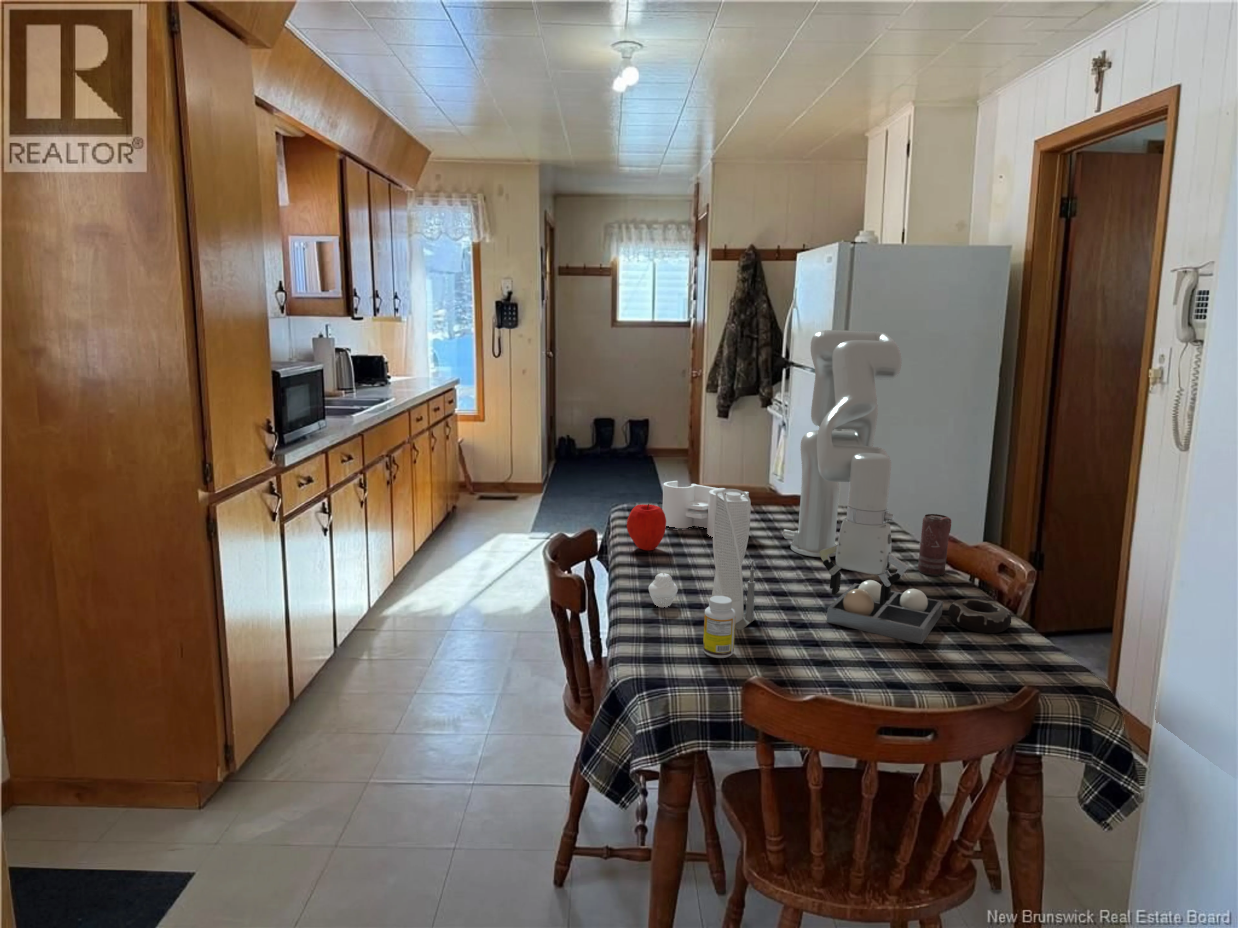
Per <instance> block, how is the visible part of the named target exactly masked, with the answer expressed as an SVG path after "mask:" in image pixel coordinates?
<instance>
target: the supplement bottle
mask: <svg viewBox="0 0 1238 928" xmlns="http://www.w3.org/2000/svg"><path fill="white" fill-rule="evenodd" d="M735 618H736V613H735V610H734V609H732V600H731V599H730V598H728V597H725V596H713V597H712V596H711V597H710V598H709V603H708V607H706V608H705V610H704V622H703V639H702V640H703V643H702V646H703V647H702V650H703V652H704V654H705V655H706V656H708V657H711V658H716V659H724V658H729V657H731V656H732V655H734V650H735V635H736V634H735V632H736V629H735Z"/></svg>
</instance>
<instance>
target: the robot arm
mask: <svg viewBox="0 0 1238 928" xmlns="http://www.w3.org/2000/svg"><path fill="white" fill-rule="evenodd" d="M810 356H811V360H812V363H813V367H814V374H815V375H814V382H813V383H814V385H813V390H812V391H813V392H812V401H811V406H810V407H811V409H810V410H811V411H810V417H811V418H810V419H811V422H812V424H813V425H815V427H818V429H816V430H811V431H808V432H806V433H805V434H804V435H803V436H802V438H801V441H800V459H801V485H800V486H801V487H800V502H799V517H798V528H797V530H795V531H793V530H789V529H787V528H786V529H783V531H782V537H784V539H786V540H791V541H792V542H791V544H790V549H791V550H792V551H793V552H794V553H797V554H800V555H803V556H806V557H807V556H808V557H815V558H821V560H822V562H823V563H822V564H823V566H824V567H825V568H826V570H827V571H828V574H829V575H830V581H829V583H830V584H829V589H831V595H834V596H835V595H836V594H838V593H839V592H840V590H841V579H842V573H841V571H840V570H841V569H843V570H849V571H852V572H857V573H863V574H868V575H874V576H878V577H879V579H880V580H881V582H882V584H881V593H880V605H884V604H885V603H886V602H887V601H889V600H890V594H891V591H892V585H893V584H895V583H896V582H897V581H899V580H900V579H901V578H902V576H904V574H905V573H906V571H907V570H908V565H907V564H906V563H904V562H903V561H902V560H900V559H899V558H897V557H896V556H894V555H893V554H892V529H891V524H890V523H889V521H892V522H894V519H895V514H894V513H890V512H889V508H888V505H889V494H890V493H889V492H890V481H891V471H892V461H891V457H890V456H889V455H888V453H887V451H886V450H885V449H884V448H882V447H880V446H879V447H878V446H873V445H874V440H875V435H876V428H877V422H878V414H879V413H878V412H879V408H878V406H879V405H878V399H877V397H878V396H877V390H876V380H882V381H883V380H886V381H890V380H895V379H896V378H897V377H898V375H899V374H900V371H901V369H902V353H901V350H900V347H899V345H898V344H897V342H896V341H895V340H894V339H893V338H891V336H890V335H888V334H887V333H885V332H882V331H872V330H871V331H870V330H869V331H868V330H863V331H862V330H843V329H840V330H838V329H836V330H835V329H829V330H827V329H826V330H820V331H817V332H815V333H814V334H813V335H812V338H811V340H810ZM845 430H846V431H845ZM847 430H849V431H847ZM839 483H849V486H848V495H847V496H848V497H847V507H846V508H847V509H846V517H845V518H843V520H842V523H841V526H840V530H839V533H838V537H837V535H836V533H837V522H838V511H839V500H840V499H839V498H840V485H839ZM836 537H837V538H838V539H837V543H836ZM831 557H835V563H834V562H833V560H832V559H831ZM891 566H894V567H895V568H896V569H897V571H895V573H894V574H893V575H892V574H891V573H890V571H889V570H890V568H891Z"/></svg>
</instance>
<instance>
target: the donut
mask: <svg viewBox="0 0 1238 928" xmlns="http://www.w3.org/2000/svg"><path fill="white" fill-rule="evenodd" d="M947 614H948V617H949V619H950V620H951V622H952V623H954V624H955V625H956V626H958V627H960V628H962V629H965V630H968V631H971V632H974V633H975V632H976V633H981V634H997V633H1001V632H1004V631H1006V630H1007V629H1008V628H1009V627H1010V626H1011V624H1012V616H1011V614H1010V612H1009V611H1008V610H1007V609H1006V608H1005V607H1003V606H1002V605H999V604H998V603H995V602H991V601H990V600H984V599H977V598H961V599H957V600H955V601H953V602H952V603H951V604H950V605H949V607H948V610H947Z"/></svg>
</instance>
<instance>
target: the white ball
mask: <svg viewBox="0 0 1238 928" xmlns="http://www.w3.org/2000/svg"><path fill="white" fill-rule="evenodd" d="M902 593H903V594H902V595H901V598H900V605H901V607H904V608H908V609H913V610H918V611H922V612H924V611H925V610H926V608H927V606H928V600H927V598H928V597H927V595H926V594H925V593H924V591H922V590H920V589H918V588H908V589H906V590H905V591H904V592H902Z"/></svg>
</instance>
